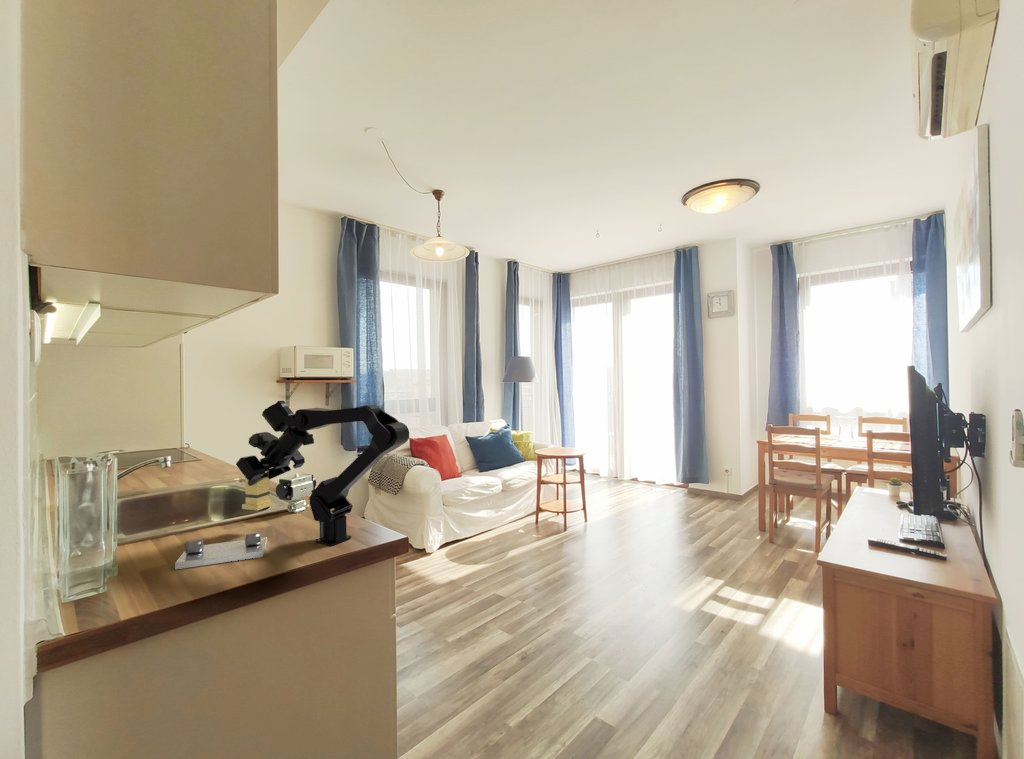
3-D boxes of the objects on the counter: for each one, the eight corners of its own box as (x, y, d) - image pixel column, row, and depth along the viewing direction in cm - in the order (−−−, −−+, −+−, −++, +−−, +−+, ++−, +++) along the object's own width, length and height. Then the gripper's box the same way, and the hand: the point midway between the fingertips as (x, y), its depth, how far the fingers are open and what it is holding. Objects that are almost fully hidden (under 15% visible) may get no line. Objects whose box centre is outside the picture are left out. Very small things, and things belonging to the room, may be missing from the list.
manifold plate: (267, 542, 115) (267, 526, 115) (262, 557, 106) (262, 539, 106) (187, 553, 108) (187, 535, 108) (175, 569, 99) (175, 550, 99)
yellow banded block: (272, 505, 125) (272, 469, 125) (257, 510, 120) (257, 473, 120) (257, 503, 127) (257, 468, 126) (242, 508, 122) (241, 472, 122)
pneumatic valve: (275, 515, 138) (274, 476, 138) (306, 505, 149) (306, 469, 148) (288, 517, 136) (287, 478, 136) (318, 507, 146) (318, 470, 146)
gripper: (295, 419, 131) (265, 455, 134) (241, 426, 113) (208, 468, 116) (319, 447, 129) (287, 483, 132) (267, 458, 111) (232, 500, 114)
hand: (255, 482), depth 123 cm, fingers closed on yellow banded block, 4 cm apart
